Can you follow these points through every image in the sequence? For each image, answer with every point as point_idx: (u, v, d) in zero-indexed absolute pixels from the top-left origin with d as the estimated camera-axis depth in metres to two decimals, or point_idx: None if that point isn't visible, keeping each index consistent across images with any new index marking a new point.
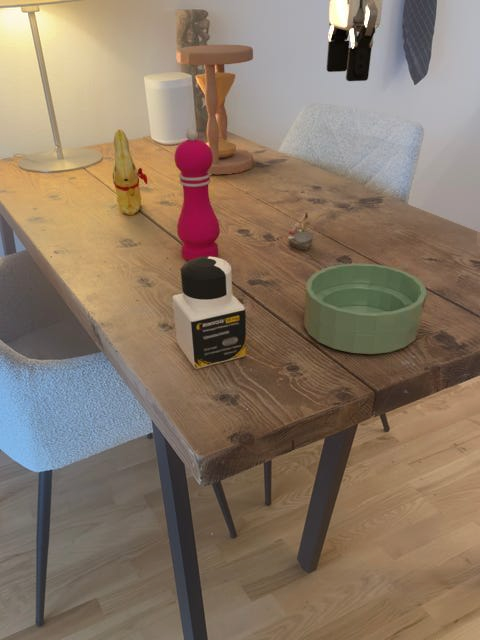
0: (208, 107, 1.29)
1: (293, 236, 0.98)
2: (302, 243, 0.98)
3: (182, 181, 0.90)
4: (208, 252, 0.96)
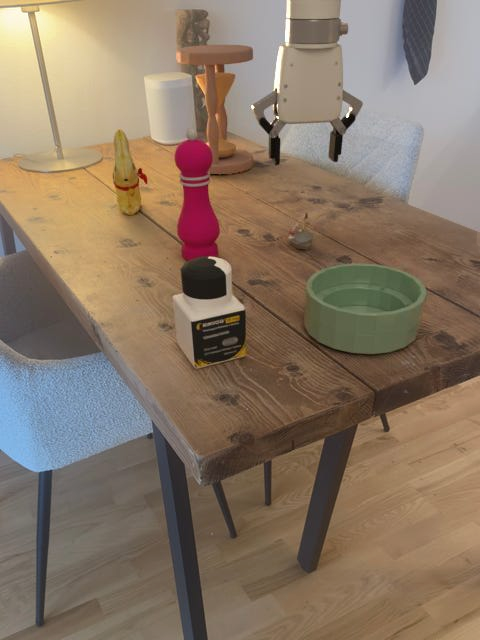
0: (208, 107, 1.29)
1: (293, 236, 0.98)
2: (302, 243, 0.98)
3: (182, 181, 0.90)
4: (208, 252, 0.96)
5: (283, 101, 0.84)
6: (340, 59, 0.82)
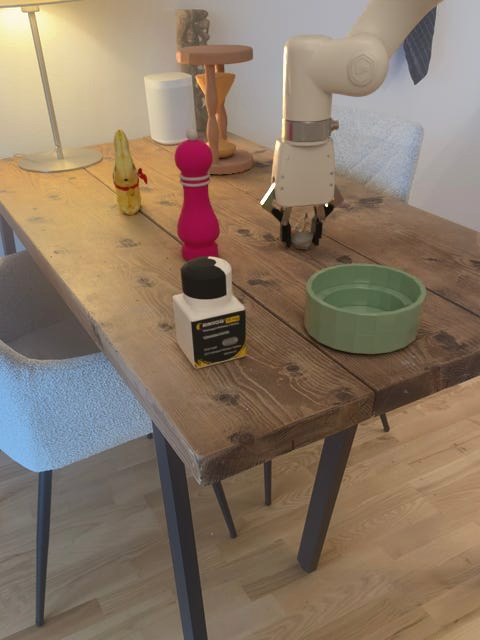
0: (208, 107, 1.29)
1: (293, 236, 0.98)
2: (302, 243, 0.98)
3: (182, 181, 0.90)
4: (208, 252, 0.96)
5: (280, 189, 0.92)
6: (332, 152, 0.90)
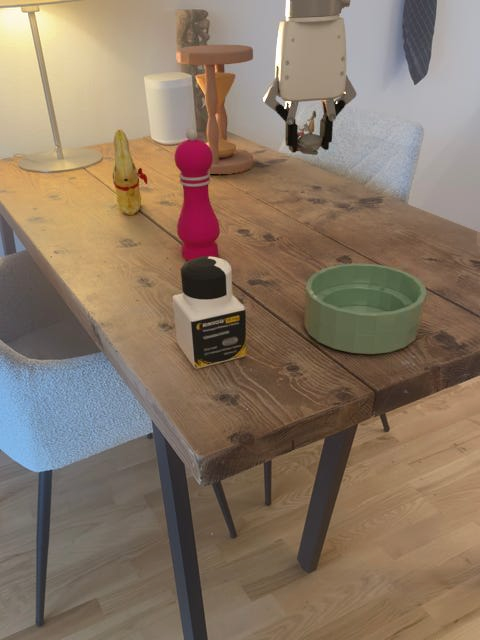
0: (208, 107, 1.29)
1: (300, 139, 0.88)
2: (310, 145, 0.88)
3: (182, 181, 0.90)
4: (208, 252, 0.96)
5: (285, 78, 0.82)
6: (343, 32, 0.80)
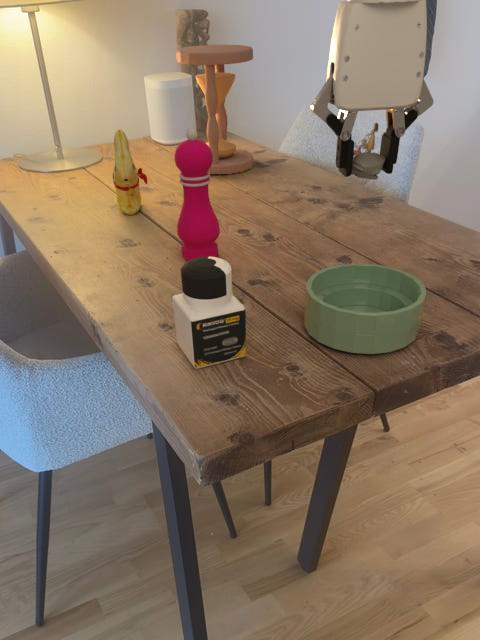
0: (208, 107, 1.29)
1: (356, 159, 0.67)
2: (370, 168, 0.67)
3: (182, 181, 0.90)
4: (208, 252, 0.96)
5: (343, 80, 0.61)
6: (424, 19, 0.59)
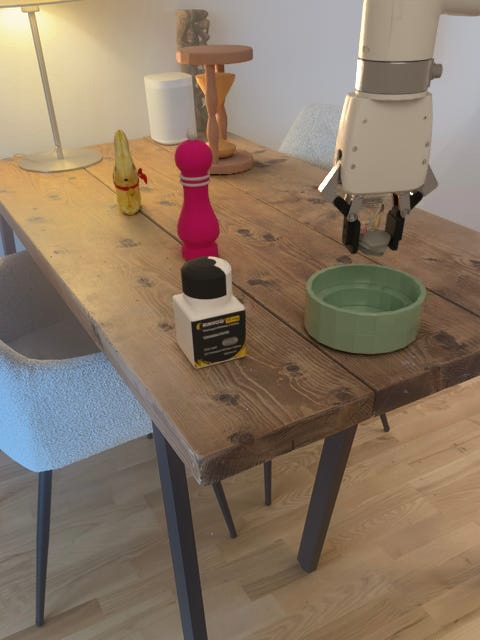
0: (208, 107, 1.29)
1: (362, 237, 0.69)
2: (376, 247, 0.68)
3: (182, 181, 0.90)
4: (208, 252, 0.96)
5: (350, 168, 0.62)
6: (430, 112, 0.60)
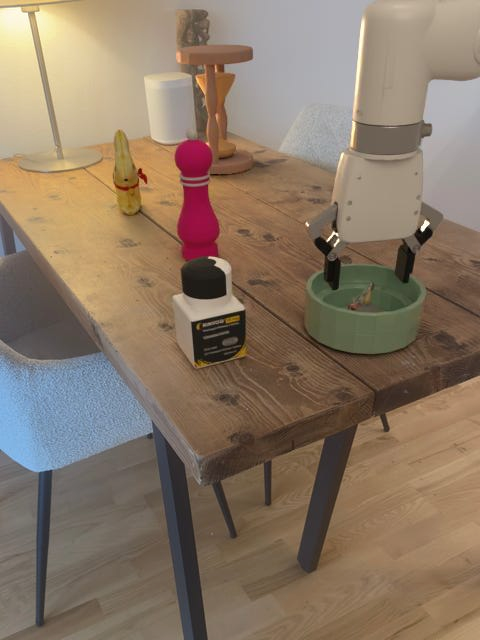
0: (208, 107, 1.29)
1: None
2: None
3: (182, 181, 0.90)
4: (208, 252, 0.96)
5: (346, 219, 0.66)
6: (421, 168, 0.63)
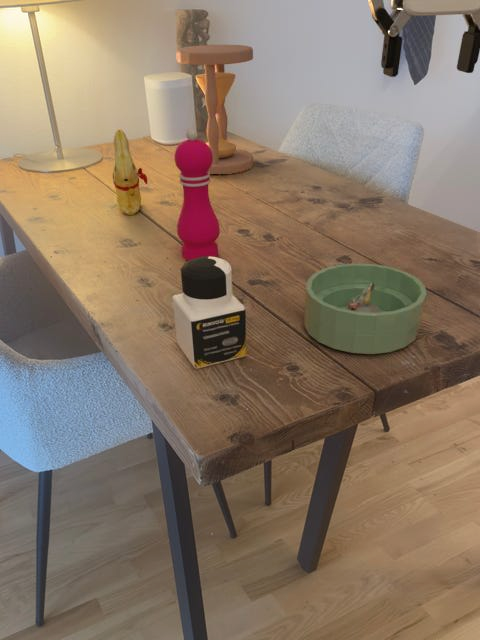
0: (208, 107, 1.29)
1: None
2: None
3: (182, 181, 0.90)
4: (208, 252, 0.96)
5: None
6: None
